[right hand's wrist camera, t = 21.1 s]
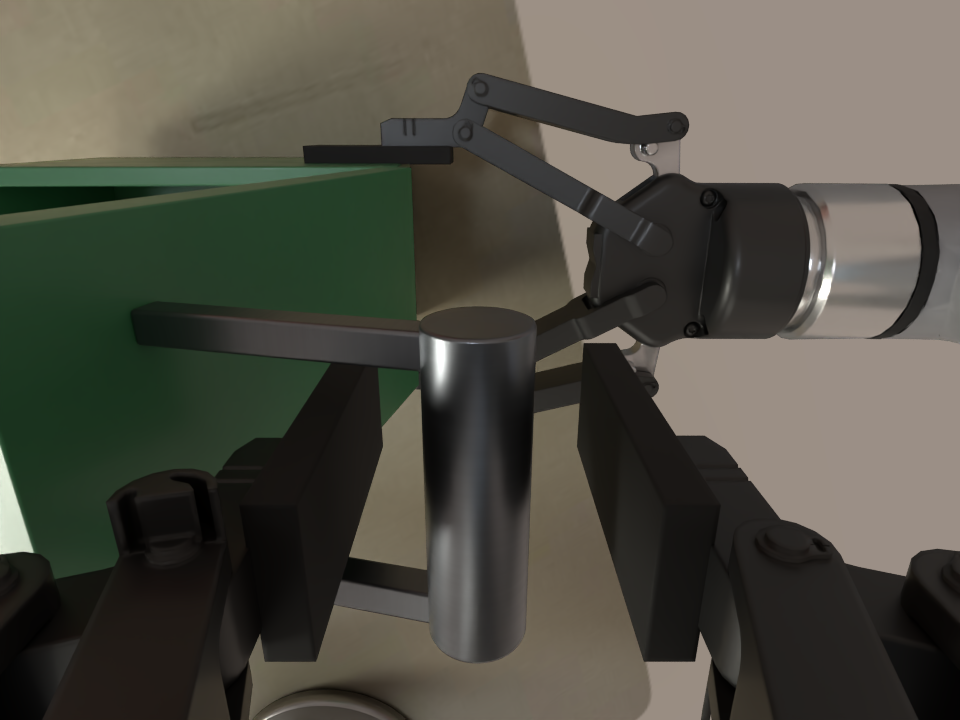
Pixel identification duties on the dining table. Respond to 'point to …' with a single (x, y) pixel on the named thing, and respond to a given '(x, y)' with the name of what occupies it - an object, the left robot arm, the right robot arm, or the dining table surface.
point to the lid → (260, 376)
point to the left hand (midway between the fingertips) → (321, 261)
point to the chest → (142, 178)
